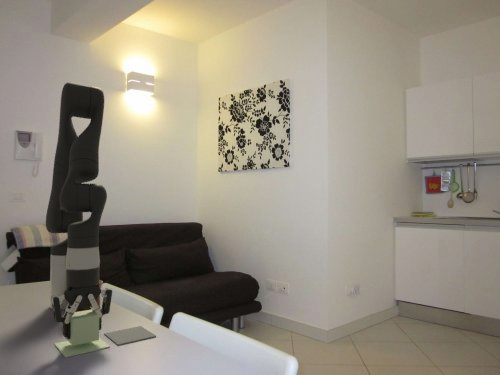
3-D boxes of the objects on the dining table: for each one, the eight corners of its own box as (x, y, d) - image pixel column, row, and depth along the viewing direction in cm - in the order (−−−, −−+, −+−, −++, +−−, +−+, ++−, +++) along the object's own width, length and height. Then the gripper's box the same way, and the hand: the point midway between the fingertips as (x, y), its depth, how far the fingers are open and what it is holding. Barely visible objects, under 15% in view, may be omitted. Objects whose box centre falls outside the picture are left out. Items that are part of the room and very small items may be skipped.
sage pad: (54, 344, 99) (54, 343, 99) (96, 336, 105) (96, 334, 105) (65, 357, 91) (65, 356, 91) (109, 347, 97) (109, 346, 97)
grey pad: (104, 334, 106) (104, 333, 106) (140, 327, 113) (140, 325, 113) (118, 345, 99) (118, 344, 99) (156, 336, 105) (156, 335, 105)
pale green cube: (65, 338, 99) (66, 313, 99) (91, 333, 102) (91, 309, 103) (72, 345, 94) (73, 319, 94) (99, 340, 98) (99, 315, 98)
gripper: (107, 260, 106) (106, 325, 106) (47, 266, 97) (46, 337, 97) (117, 264, 100) (117, 333, 100) (54, 271, 91) (53, 346, 91)
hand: (82, 335), depth 98 cm, fingers closed on pale green cube, 6 cm apart
